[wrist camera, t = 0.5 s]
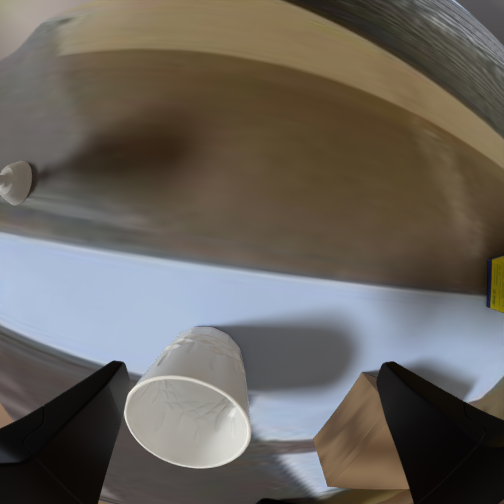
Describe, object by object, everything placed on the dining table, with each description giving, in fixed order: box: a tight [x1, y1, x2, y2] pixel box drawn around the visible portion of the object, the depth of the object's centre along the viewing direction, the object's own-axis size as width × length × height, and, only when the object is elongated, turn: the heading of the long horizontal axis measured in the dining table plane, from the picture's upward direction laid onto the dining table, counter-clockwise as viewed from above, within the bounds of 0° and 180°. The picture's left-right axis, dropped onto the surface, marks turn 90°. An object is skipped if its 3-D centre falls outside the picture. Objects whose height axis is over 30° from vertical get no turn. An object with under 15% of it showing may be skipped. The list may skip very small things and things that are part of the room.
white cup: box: [124, 327, 251, 468], centre depth 19 cm, size 8×8×10 cm
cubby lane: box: [313, 373, 409, 490], centre depth 21 cm, size 9×12×7 cm
